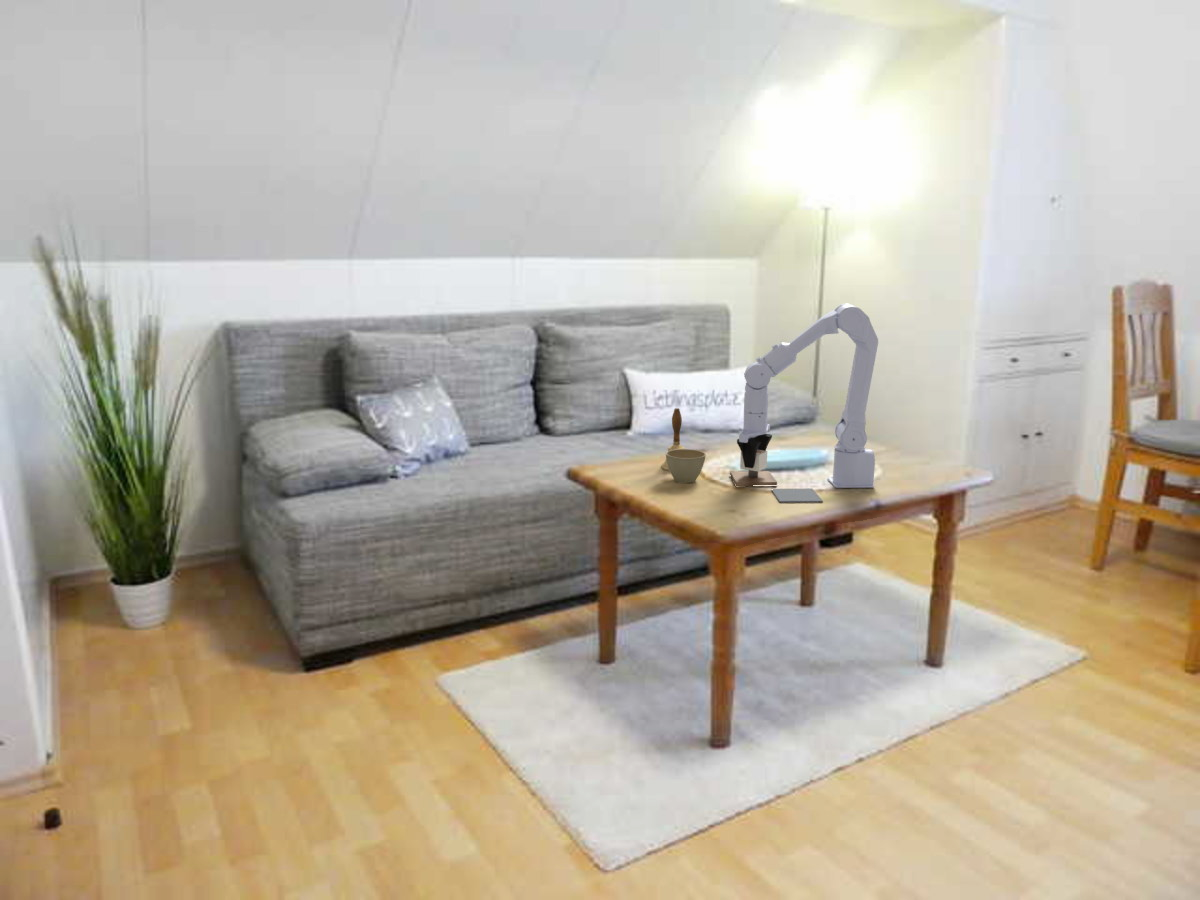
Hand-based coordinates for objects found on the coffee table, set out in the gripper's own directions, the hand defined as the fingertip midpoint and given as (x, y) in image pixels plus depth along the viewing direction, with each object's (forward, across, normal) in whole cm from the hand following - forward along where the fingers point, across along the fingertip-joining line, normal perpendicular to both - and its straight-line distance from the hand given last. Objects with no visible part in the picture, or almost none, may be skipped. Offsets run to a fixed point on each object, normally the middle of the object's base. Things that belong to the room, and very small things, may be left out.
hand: (753, 464), depth 215 cm
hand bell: (+4, -2, -23) cm, 23 cm away
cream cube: (+1, 0, 0) cm, 1 cm away
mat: (+4, +6, +14) cm, 16 cm away
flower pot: (+4, +9, -15) cm, 18 cm away
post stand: (+4, 0, 0) cm, 4 cm away
